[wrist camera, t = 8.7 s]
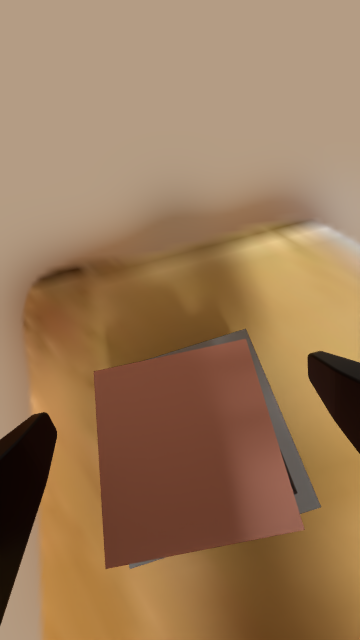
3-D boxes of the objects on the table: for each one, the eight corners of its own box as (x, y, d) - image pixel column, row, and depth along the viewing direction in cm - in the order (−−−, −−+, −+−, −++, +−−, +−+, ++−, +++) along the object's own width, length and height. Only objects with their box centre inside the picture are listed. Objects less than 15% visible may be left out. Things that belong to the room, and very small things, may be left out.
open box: (296, 489, 15) (321, 507, 12) (147, 537, 15) (129, 568, 12) (239, 345, 18) (245, 328, 15) (117, 383, 18) (98, 374, 15)
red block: (250, 470, 15) (304, 529, 6) (164, 487, 15) (105, 568, 6) (227, 381, 17) (246, 338, 8) (151, 397, 17) (93, 371, 8)
